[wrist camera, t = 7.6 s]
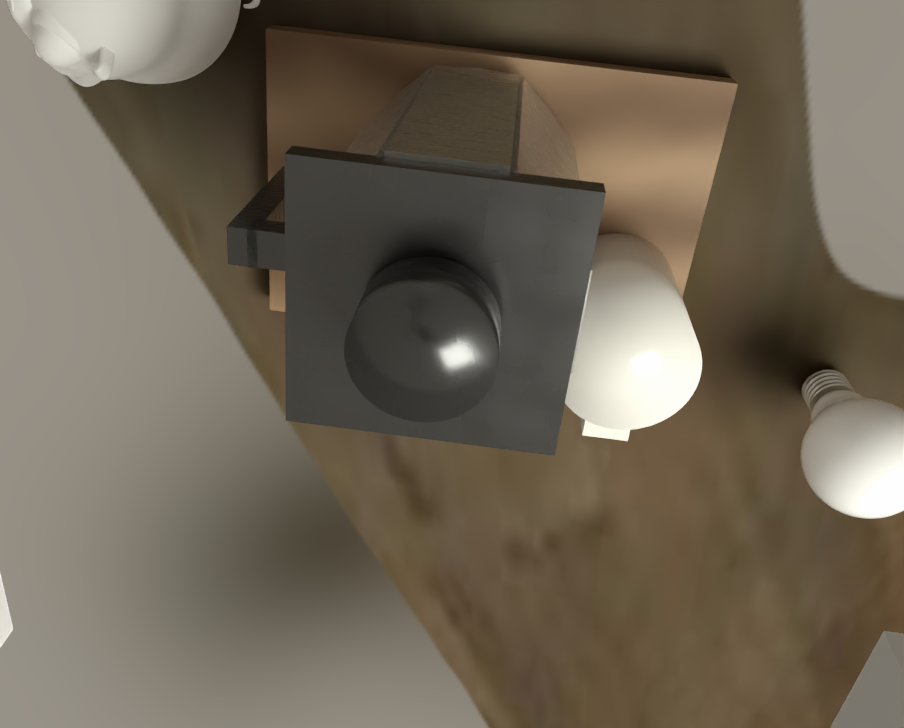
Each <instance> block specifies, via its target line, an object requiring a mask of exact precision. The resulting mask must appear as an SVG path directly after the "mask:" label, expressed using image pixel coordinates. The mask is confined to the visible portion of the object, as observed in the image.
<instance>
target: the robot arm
mask: <svg viewBox="0 0 904 728" xmlns="http://www.w3.org/2000/svg"><path fill="white" fill-rule="evenodd" d="M12 630H13V626H12V621H11V617H10V613H9V609H8V604H7V600H6V596H5V591H4V587H3V583H2V579H1V574H0V647H1V646H2V645H3V643H4V642H5V640H6V639H7V637H8V636H9V635H10V633H11V632H12ZM830 728H904V634H901V633H894V632H888V631H883V633H882V635H881V637H880V639H879V641H878V642H877V644H876V646H875V648H874V650H873V651H872V653H871V655H870V657H869V659H868V660H867V662H866V664H865V666H864V668H863V670H862V671H861V673H860V675H859V677H858V679H857V680H856V682H855V684H854V686H853V688H852V689H851V691H850V693H849V695H848V697H847V698H846V700H845V702H844V704H843V706H842V708H841V709H840V711H839V713H838V715H837V717H836V718H835V720H834V722H833V724H832V726H831V727H830Z"/></svg>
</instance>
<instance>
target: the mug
mask: <svg viewBox="0 0 904 728" xmlns="http://www.w3.org/2000/svg"><path fill="white" fill-rule="evenodd" d="M592 269H593V271H592V277H591V282H590V287H589V292H588V297H587V302H586V307H585V312H584V317H583V322H582V327H581V332H580V337H579V342H578V348H577V353H576V358H575V363H574V368H573V373H572V374H570V379H569V384H568V389H567V394H566V399H565V403H566V405H567V406H568V407H569V408H570V409H571V410H572V411H573V412H574V413H576V414H577V415H578V416H579V417H581V428H582V435H585V436H593V437H600V438H608V439H616V440H623V441H628V437H629V433H630V430H631V429H638V428H643V427H647V426H651V425H654V424H656V423H659V422H661V421H663V420H665V419H667V418H669V417H670V416H672V415H673V414H675V413H676V412H677V411H678V410H679V409H681V408H682V407H683V406H684V405H685V404H686V403H687V402H688V400H689V399H690V397H691V396H692V395H693V393H694V391H695V389H696V388H697V385H698V383H699V380H700V376H701V371H702V355H701V350H700V346H699V343H698V341H697V338H696V335H695V332H694V330H693V327H692V324H691V321H690V319H689V316H688V313H687V310H686V307H685V305H684V302H683V299H682V296H681V294H680V291H679V288H678V285H677V283H676V280H675V277H674V274H673V272H672V269H671V267H670V264H669V262H668V261H667V259H666V258H665V256H664V255H663V254H662V253H661V251H660V250H658V249H657V248H656V247H655V246H654V245H652V244H651V243H649V242H648V241H646V240H644V239H641V238H639V237H636V236H633V235H628V234H618V233H614V234H604V235H599V236H597V241H596V246H595V251H594V256H593V261H592Z"/></svg>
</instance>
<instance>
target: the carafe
mask: <svg viewBox="0 0 904 728" xmlns="http://www.w3.org/2000/svg"><path fill="white" fill-rule="evenodd" d="M284 160H285V165H284V166H283V167H282V168H281V169H280V170H279V171H278V172H277V173H276V174H275V175H274V176H273V177H272V179H271V180H270V181H269V182H268V183H267V184H266V185H265V186H264V187H263V188H262V189H261V190H260V191H259V192H258V194H257V195H256V196H255V197H254V198H253V199H252V200H251V201H250V202H249V203H248V204H247V205H246V206H245V207H244V209H243V210H242V211H241V212H240V213H239V214H238V215H237V216H236V217H235V218H234V219H233V220H232V221H231V222H230V223H229V225H228V226H227V247H228V264H231V265H239V266H247V267H255V268H263V269H271V270H279V271H285V342H286V421H294V422H302V423H309V424H317V425H324V426H332V427H340V428H347V429H355V430H363V431H370V432H378V433H385V434H393V435H401V436H408V437H416V438H424V439H431V440H439V441H446V442H454V443H462V444H469V445H477V446H485V447H492V448H500V449H507V450H515V451H523V452H530V453H538V454H546V455H553V456H554V455H555V450H556V445H557V440H558V435H559V430H560V425H561V419H562V414H563V409H564V404H565V399H566V394H567V389H568V384H569V379H570V374H572V373H573V368H574V363H575V358H576V353H577V348H578V342H579V337H580V332H581V327H582V322H583V317H584V312H585V307H586V302H587V297H588V292H589V287H590V282H591V277H592V271H593V269H592V261H593V256H594V251H595V246H596V241H597V236H598V231H599V225H600V220H601V215H602V210H603V205H604V200H605V195H606V191H605V187H604V183H597V182H588V181H580V180H579V176H578V169H577V163H576V156H575V149H574V145H573V143H572V141H571V140H570V139H569V137H568V136H567V135H566V133H565V132H564V131H563V129H562V128H561V126H560V125H559V123H558V121H557V119H556V117H555V116H554V114H553V112H552V111H551V109H550V108H549V106H548V105H547V104H546V103H545V102H544V100H543V99H542V98H541V97H540V96H539V95H538V94H537V93H536V92H535V91H534V90H533V89H532V87H531V86H530V85H529V83H528V82H527V81H526V79H525V78H522V79H521V80H519V75H518V74H510V73H504V72H501V71H498V70H495V69H492V68H486V67H481V66H466V65H464V66H453V67H450V66H442V65H435V67H434V69H433V68H432V67H430V68H428V69H427V70H426V71H425V72H424V73H423V74H421V75H420V76H419V77H418V78H417V79H416V80H414V81H413V82H411V83H410V84H409V85H407V86H406V87H405V88H403V89H402V90H401V91H400V92H399V93H398V94H397V95H396V96H395V97H394V98H393V99H392V100H391V101H390V102H389V103H388V104H387V105H385V106H384V107H383V108H382V109H381V110H380V111H378V112H377V113H376V114H375V115H374V116H373V117H371V118H370V119H369V121H368V122H367V123H366V125H365V126H364V127H363V129H362V130H361V131H360V133H359V134H358V135H357V137H356V138H355V139H354V141H353V142H352V143H351V145H350V146H349V147H348V149H347V150H346V151H345V152H341V151H333V150H324V149H316V148H308V147H300V146H292V147H291V148H290V149H289V150H288V151H287V152H286V153H285V154H284ZM414 257H437V258H443V259H447V260H450V261H453V262H456V263H458V264H460V265H462V266H464V267H466V268H467V269H469V270H471V271H472V272H473V273H475V274H476V275H477V276H478V277H480V278H481V280H482V281H483V282H484V283H485V284H486V285H487V286H488V288H489V289H490V290H491V292H492V294H493V295H494V297H495V299H496V302H497V304H498V307H499V311H500V315H501V336H500V348H499V361H498V369H497V374H496V377H495V380H494V383H493V385H492V387H491V388H490V390H489V392H488V393H487V394H486V396H485V397H484V398H483V399H482V400H481V401H480V402H479V403H478V404H477V405H476V406H475V407H473V408H472V409H471V410H469V411H467V412H466V413H464V414H462V415H460V416H457V417H455V418H452V419H448V420H444V421H438V422H414V421H409V420H404V419H401V418H398V417H395V416H392V415H390V414H388V413H386V412H384V411H382V410H380V409H379V408H377V407H376V406H375V405H373V404H372V403H371V402H369V401H368V400H367V399H366V398H365V397H364V396H363V395H362V394H361V392H360V391H359V390H358V389H357V387H356V386H355V384H354V383H353V381H352V379H351V377H350V375H349V373H348V370H347V367H346V363H345V357H344V343H345V337H346V333H347V330H348V327H349V325H350V323H351V321H352V318H353V316H354V314H355V311H356V309H357V307H358V304H359V302H360V300H361V298H362V295H363V293H364V291H365V289H366V287H367V286H368V284H369V283H370V282H371V281H372V279H373V278H374V277H375V276H376V275H377V274H378V273H380V272H381V271H382V270H383V269H385V268H386V267H388V266H390V265H392V264H394V263H396V262H398V261H401V260H405V259H408V258H414Z"/></svg>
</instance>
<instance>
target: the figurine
mask: <svg viewBox="0 0 904 728" xmlns="http://www.w3.org/2000/svg"><path fill="white" fill-rule="evenodd" d="M6 1H7V5H8V8H9V11H10V13H11V15H12V17H13V18H14V20H15V21H16V22H17V24H18V25H19V27H20V28H21V29H22V30H23V32H24V33H25V34H26V36H27V37H28V38H29V39H30V40H31V41H32V42H33V46H34V48H35V52H36V54H37V56H38V57H41V58H42V59H43V60H44V61H45V62H47V63H48V64H49V65H50V66H51V67H52V68H54V69H55V70H56V71H58V72H59V73H61V74H64V75H67V76H68V77H69V78H71V79H72V80H73V81H74V82H76V83H77V84H79V85H81V86H84V87H90V86H94V85H96V84H97V83H99V82H100V81H101V80H107V79H108V80H115V79H121V80H125V81H129V82H135V83H143V84H166V83H174V82H179V81H183V80H186V79H189V78H191V77H193V76H195V75H197V74H199V73H201V72H202V71H204V70H205V69H207V68H208V67H209V66H210V65H211V64H213V63H214V62H215V61H216V60H217V58H218V57H219V56H220V55H221V54H222V52H223V51H224V49H225V48H226V46H227V45H228V43H229V41H230V39H231V37H232V35H233V32H234V30H235V27H236V24H237V20H238V16H239V12H240V5H241V0H6ZM260 1H261V0H253V1H252V2H251V3H249V4H244V5H243V7H244V8H248V9H252V8H256V7H257V6H258V5H259V4H260Z"/></svg>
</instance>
